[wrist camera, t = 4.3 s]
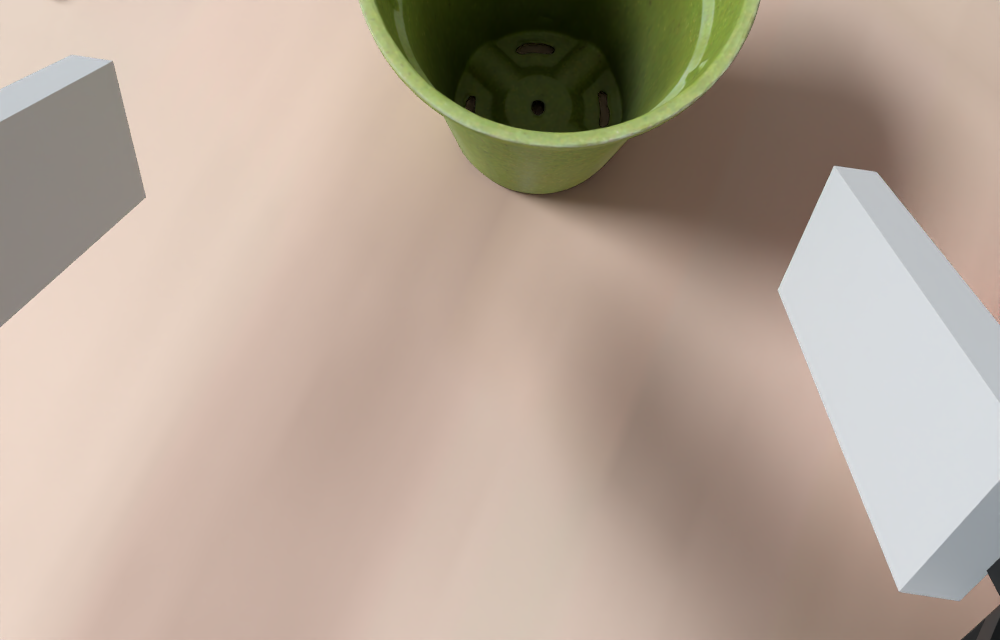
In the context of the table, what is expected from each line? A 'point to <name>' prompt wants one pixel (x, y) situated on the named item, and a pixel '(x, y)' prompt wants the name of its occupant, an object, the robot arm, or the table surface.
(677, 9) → the plant pot
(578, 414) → the table surface
